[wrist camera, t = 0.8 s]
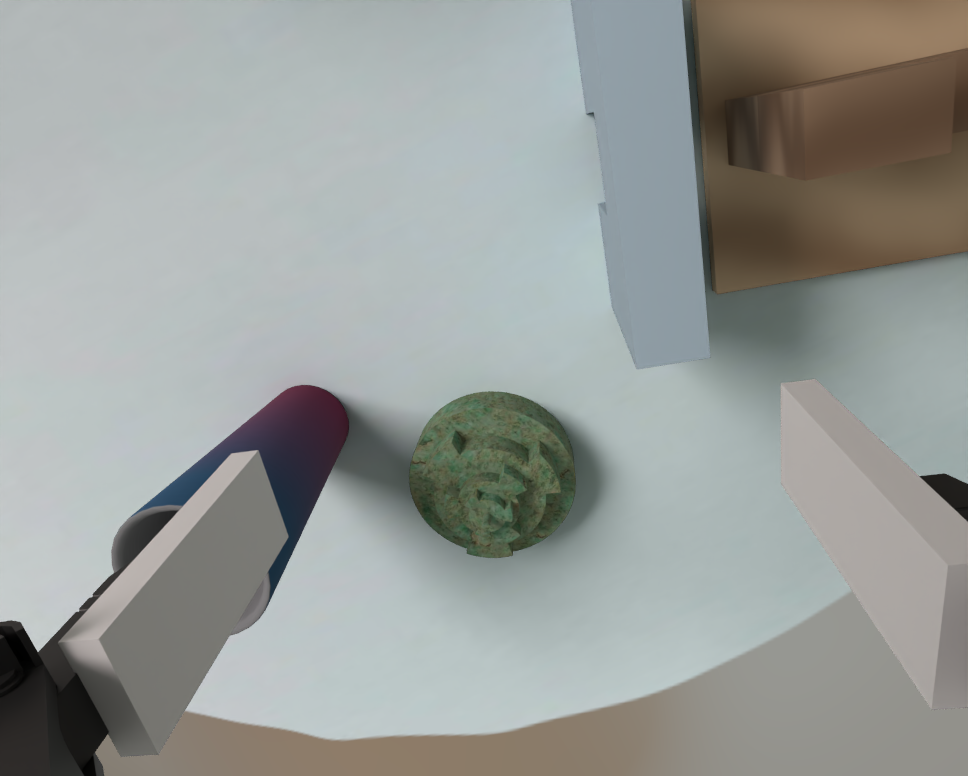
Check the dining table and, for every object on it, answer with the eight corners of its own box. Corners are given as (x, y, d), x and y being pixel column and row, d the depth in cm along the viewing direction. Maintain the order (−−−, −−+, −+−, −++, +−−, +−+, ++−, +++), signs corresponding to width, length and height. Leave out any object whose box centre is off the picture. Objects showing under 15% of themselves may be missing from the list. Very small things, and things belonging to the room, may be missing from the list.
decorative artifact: (488, 358, 38) (385, 463, 41) (478, 405, 32) (357, 526, 35) (606, 461, 40) (499, 554, 43) (619, 526, 34) (492, 629, 37)
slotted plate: (568, -15, 30) (581, -77, 21) (632, -32, 30) (673, -102, 21) (612, 307, 36) (636, 369, 27) (666, 297, 36) (710, 358, 26)
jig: (687, -46, 29) (764, -135, 19) (1073, -142, 27) (1392, -303, 17) (712, 289, 35) (782, 356, 25) (1033, 234, 33) (1252, 283, 23)
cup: (340, 359, 39) (228, 489, 25) (378, 456, 41) (295, 624, 27) (240, 385, 40) (80, 523, 26) (282, 478, 42) (157, 649, 28)
